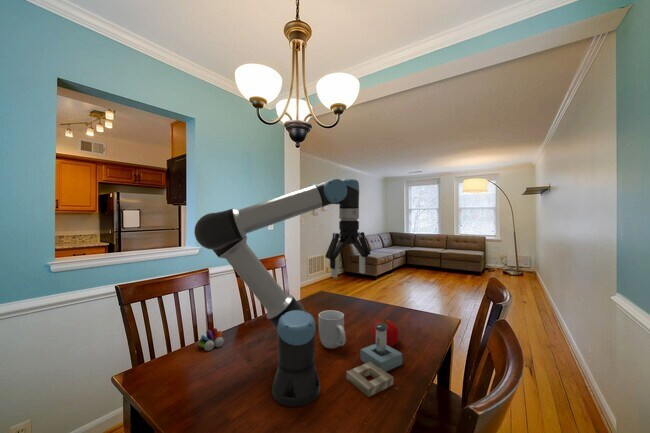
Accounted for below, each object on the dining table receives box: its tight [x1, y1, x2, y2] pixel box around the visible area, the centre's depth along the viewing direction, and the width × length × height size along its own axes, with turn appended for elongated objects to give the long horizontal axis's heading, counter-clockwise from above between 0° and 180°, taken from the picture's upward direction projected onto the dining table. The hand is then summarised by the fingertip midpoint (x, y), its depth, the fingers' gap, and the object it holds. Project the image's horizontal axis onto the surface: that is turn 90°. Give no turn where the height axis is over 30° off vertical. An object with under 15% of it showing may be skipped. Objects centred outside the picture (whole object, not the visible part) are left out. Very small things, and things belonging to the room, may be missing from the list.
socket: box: [359, 343, 403, 373], centre depth 101 cm, size 11×11×4 cm
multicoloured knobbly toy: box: [198, 327, 225, 352], centre depth 112 cm, size 8×10×7 cm
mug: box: [317, 309, 347, 350], centre depth 112 cm, size 15×11×13 cm
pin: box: [375, 323, 387, 357], centre depth 101 cm, size 5×5×14 cm
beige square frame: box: [345, 362, 394, 398], centre depth 89 cm, size 11×11×2 cm
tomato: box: [370, 319, 399, 348], centre depth 115 cm, size 12×12×10 cm
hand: (348, 275), depth 102 cm, fingers open, 13 cm apart
